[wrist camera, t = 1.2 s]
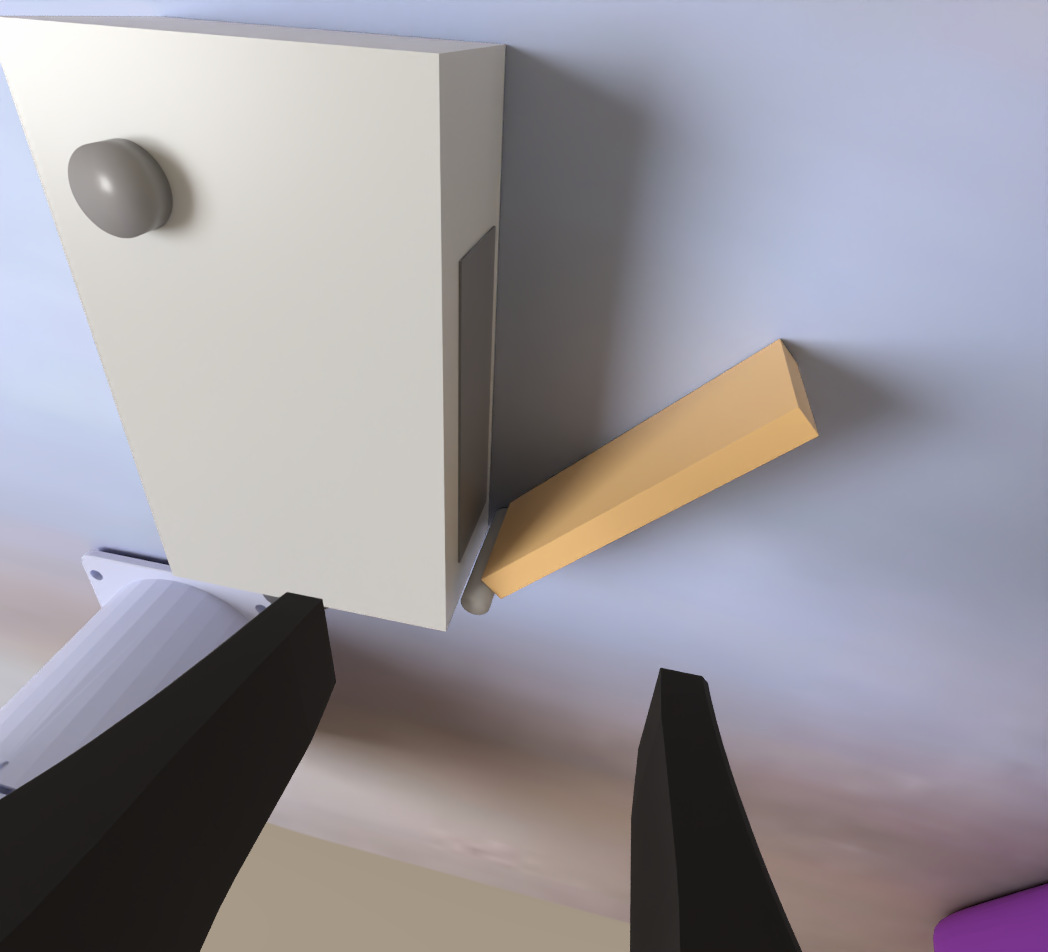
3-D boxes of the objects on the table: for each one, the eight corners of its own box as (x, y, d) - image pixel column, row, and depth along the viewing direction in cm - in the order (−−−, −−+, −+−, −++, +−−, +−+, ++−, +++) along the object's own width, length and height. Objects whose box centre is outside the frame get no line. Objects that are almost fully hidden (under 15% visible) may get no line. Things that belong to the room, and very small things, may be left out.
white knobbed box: (488, 555, 22) (441, 678, 18) (263, 513, 23) (170, 620, 19) (508, 44, 14) (429, 55, 10) (157, 16, 15) (-47, 15, 11)
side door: (506, 532, 21) (474, 618, 18) (489, 515, 21) (454, 600, 18) (796, 363, 16) (821, 443, 13) (780, 338, 16) (800, 413, 13)
